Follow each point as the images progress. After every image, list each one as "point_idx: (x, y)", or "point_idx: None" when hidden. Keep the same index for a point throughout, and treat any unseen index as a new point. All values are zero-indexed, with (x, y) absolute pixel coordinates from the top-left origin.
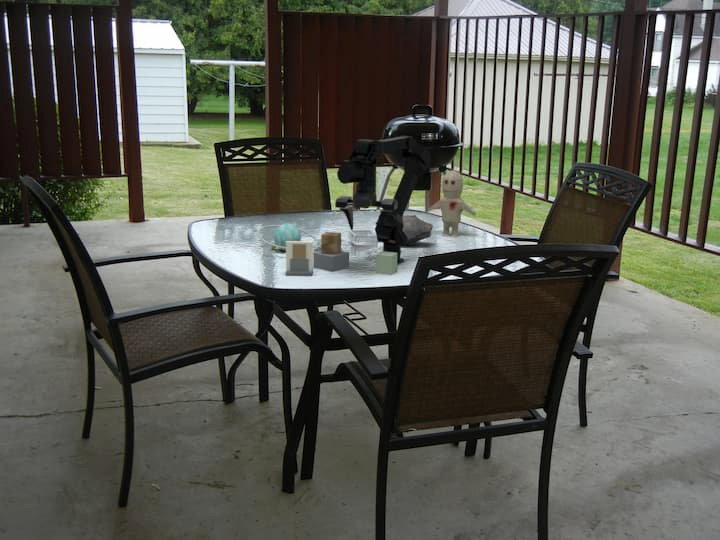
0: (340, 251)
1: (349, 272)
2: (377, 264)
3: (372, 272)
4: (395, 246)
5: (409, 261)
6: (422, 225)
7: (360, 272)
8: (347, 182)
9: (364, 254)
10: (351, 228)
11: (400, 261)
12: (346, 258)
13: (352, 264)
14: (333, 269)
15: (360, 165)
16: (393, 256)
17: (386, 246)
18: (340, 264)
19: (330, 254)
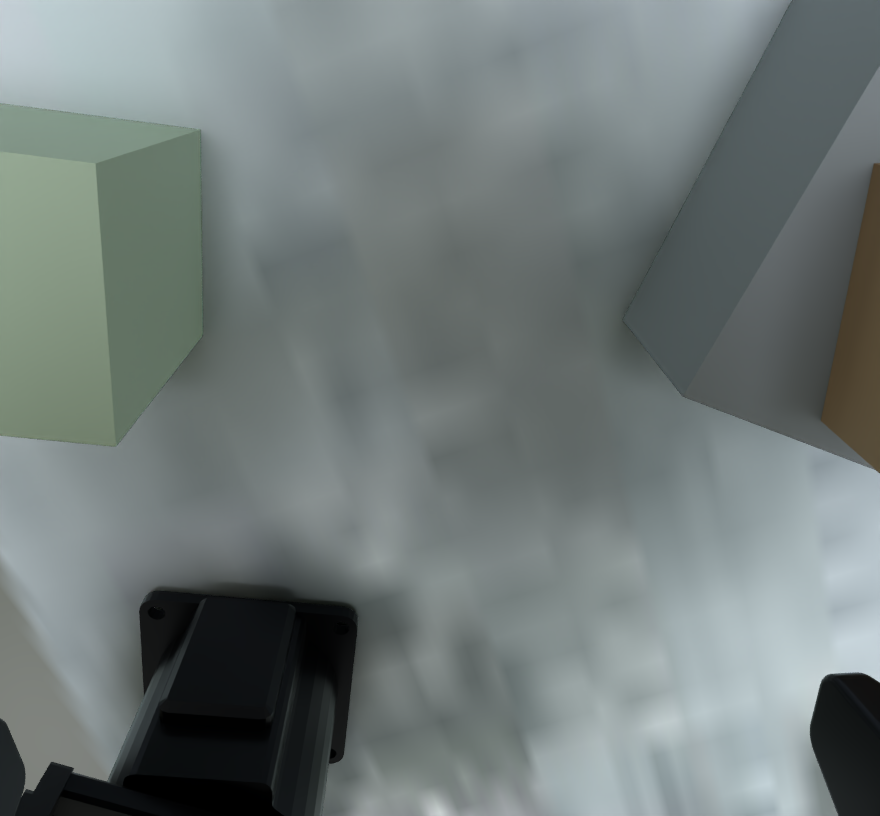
0: (829, 392)
1: (554, 36)
2: (136, 139)
3: (258, 153)
4: (120, 782)
5: (95, 722)
6: None
7: (409, 93)
8: None
9: (581, 804)
10: (867, 695)
11: (144, 666)
12: (687, 308)
13: (609, 446)
14: (801, 8)
15: None
16: None
17: (234, 756)
18: (734, 169)
19: None
